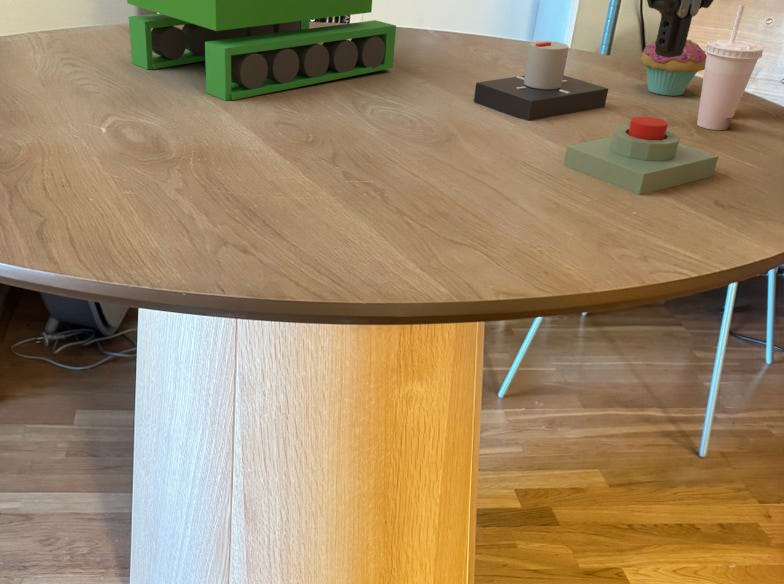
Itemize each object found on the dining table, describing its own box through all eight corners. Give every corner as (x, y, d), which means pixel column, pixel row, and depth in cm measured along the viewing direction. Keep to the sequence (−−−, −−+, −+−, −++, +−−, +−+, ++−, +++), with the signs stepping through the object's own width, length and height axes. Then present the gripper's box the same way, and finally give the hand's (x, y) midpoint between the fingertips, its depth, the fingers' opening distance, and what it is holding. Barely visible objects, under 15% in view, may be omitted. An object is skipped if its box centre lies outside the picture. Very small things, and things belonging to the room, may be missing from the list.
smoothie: (704, 115, 113) (736, -1, 106) (750, 128, 109) (787, 8, 101) (675, 122, 110) (706, 3, 102) (721, 136, 106) (757, 12, 98)
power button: (642, 130, 94) (646, 114, 93) (671, 140, 91) (675, 123, 90) (620, 135, 92) (624, 118, 91) (648, 144, 89) (652, 127, 89)
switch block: (636, 149, 100) (644, 114, 98) (712, 176, 93) (723, 139, 91) (563, 165, 94) (570, 128, 92) (638, 195, 87) (648, 156, 85)
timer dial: (540, 78, 117) (547, 36, 114) (569, 86, 113) (577, 44, 111) (515, 83, 114) (522, 40, 111) (544, 91, 111) (552, 47, 108)
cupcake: (659, 100, 119) (682, 6, 113) (621, 85, 126) (641, -5, 119) (710, 97, 121) (736, 5, 115) (670, 82, 128) (692, -6, 122)
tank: (420, 67, 130) (432, -54, 122) (227, 101, 111) (225, -40, 103) (315, 37, 146) (319, -71, 138) (130, 62, 127) (122, -62, 118)
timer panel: (548, 89, 122) (551, 70, 121) (604, 107, 115) (609, 87, 114) (473, 101, 115) (476, 81, 114) (528, 121, 108) (532, 99, 107)
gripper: (704, -145, 73) (655, 71, 82) (797, -144, 79) (741, 56, 88) (631, -148, 78) (593, 54, 87) (723, -148, 84) (679, 41, 93)
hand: (668, 55), depth 87 cm, fingers closed
